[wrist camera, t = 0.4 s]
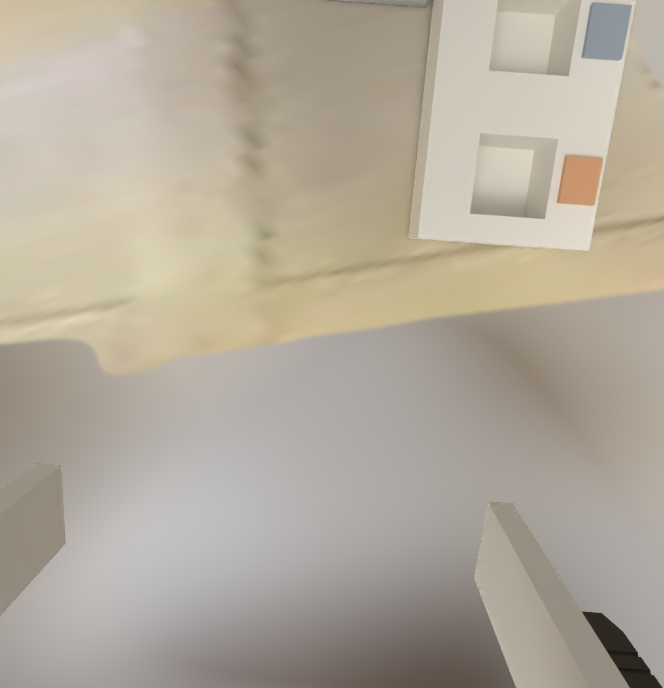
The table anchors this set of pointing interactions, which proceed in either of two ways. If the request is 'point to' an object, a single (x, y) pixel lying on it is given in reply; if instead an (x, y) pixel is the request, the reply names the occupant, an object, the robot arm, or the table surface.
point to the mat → (393, 2)
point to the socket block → (517, 120)
